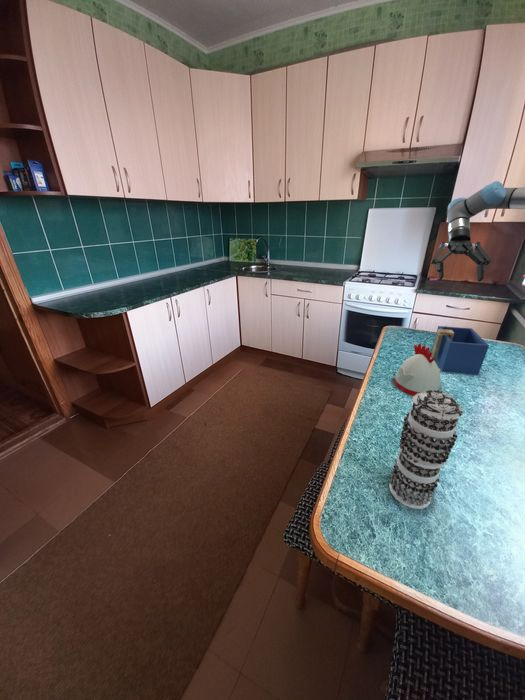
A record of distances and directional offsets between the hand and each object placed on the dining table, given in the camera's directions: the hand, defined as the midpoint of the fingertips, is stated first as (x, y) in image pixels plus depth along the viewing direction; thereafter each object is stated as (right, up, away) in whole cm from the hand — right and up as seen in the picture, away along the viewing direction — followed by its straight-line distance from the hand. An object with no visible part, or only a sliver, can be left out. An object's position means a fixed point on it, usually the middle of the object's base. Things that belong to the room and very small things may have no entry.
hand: (460, 279), depth 112 cm
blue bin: (-2, -32, +2) cm, 32 cm away
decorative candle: (-44, -59, -48) cm, 88 cm away
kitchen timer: (-24, -40, -12) cm, 48 cm away
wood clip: (-7, -30, +2) cm, 31 cm away
